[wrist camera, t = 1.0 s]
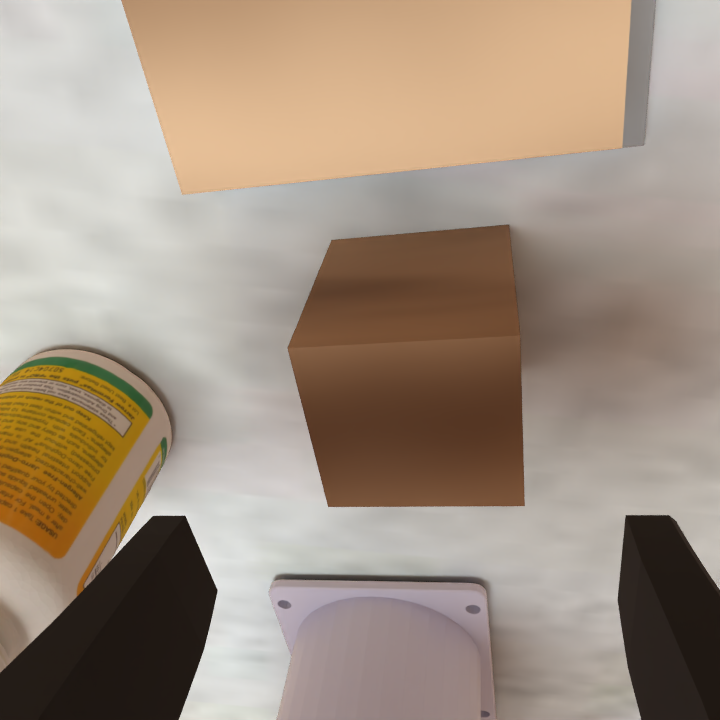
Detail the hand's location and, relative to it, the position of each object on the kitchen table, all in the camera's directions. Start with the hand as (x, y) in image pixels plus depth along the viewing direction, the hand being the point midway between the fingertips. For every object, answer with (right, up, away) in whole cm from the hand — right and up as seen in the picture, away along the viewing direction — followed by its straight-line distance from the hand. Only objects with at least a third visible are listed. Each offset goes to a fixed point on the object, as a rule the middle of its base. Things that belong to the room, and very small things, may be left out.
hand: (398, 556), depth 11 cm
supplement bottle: (-9, +2, +11) cm, 14 cm away
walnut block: (+1, +5, +7) cm, 8 cm away
